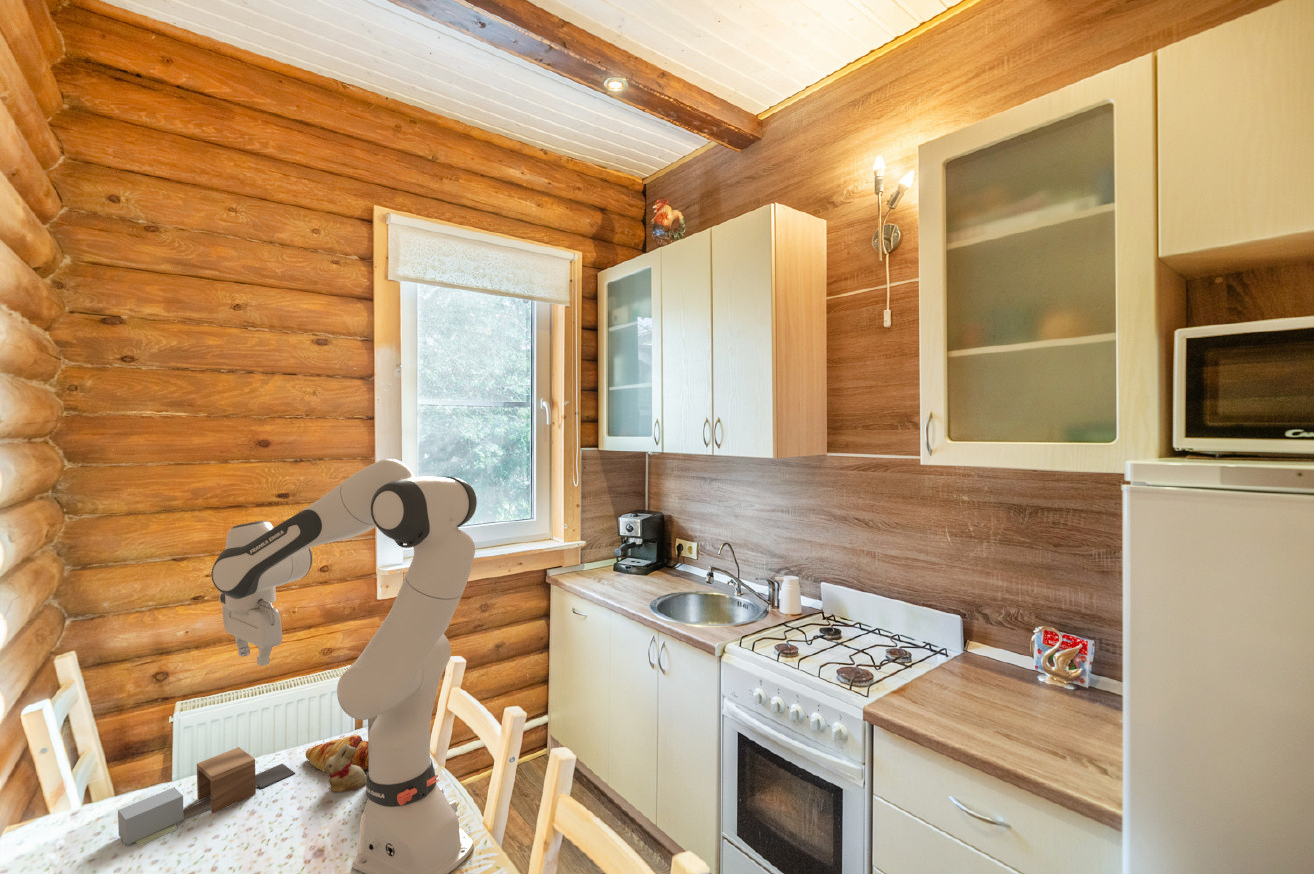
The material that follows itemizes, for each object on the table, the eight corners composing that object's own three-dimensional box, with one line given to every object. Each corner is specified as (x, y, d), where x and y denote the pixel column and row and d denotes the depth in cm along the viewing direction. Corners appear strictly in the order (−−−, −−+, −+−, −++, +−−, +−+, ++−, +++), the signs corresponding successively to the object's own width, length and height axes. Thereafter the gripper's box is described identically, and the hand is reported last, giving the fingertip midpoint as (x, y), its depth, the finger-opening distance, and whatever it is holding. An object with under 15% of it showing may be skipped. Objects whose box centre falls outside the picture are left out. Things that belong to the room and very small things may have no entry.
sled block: (183, 819, 123) (183, 795, 123) (126, 845, 115) (125, 819, 115) (174, 810, 125) (174, 787, 125) (118, 834, 118) (117, 809, 118)
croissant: (298, 780, 143) (284, 760, 139) (323, 741, 151) (311, 721, 147) (379, 787, 139) (367, 766, 135) (400, 746, 148) (390, 726, 144)
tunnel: (296, 775, 139) (296, 741, 139) (139, 846, 115) (138, 806, 115) (280, 763, 144) (279, 731, 143) (125, 829, 120) (124, 791, 120)
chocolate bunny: (338, 777, 138) (337, 735, 137) (370, 779, 137) (370, 736, 137) (322, 792, 132) (321, 748, 132) (356, 794, 132) (355, 749, 131)
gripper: (289, 600, 126) (291, 665, 126) (248, 586, 138) (249, 646, 138) (256, 608, 121) (258, 675, 121) (215, 593, 133) (217, 655, 133)
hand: (253, 659), depth 130 cm, fingers open, 8 cm apart
